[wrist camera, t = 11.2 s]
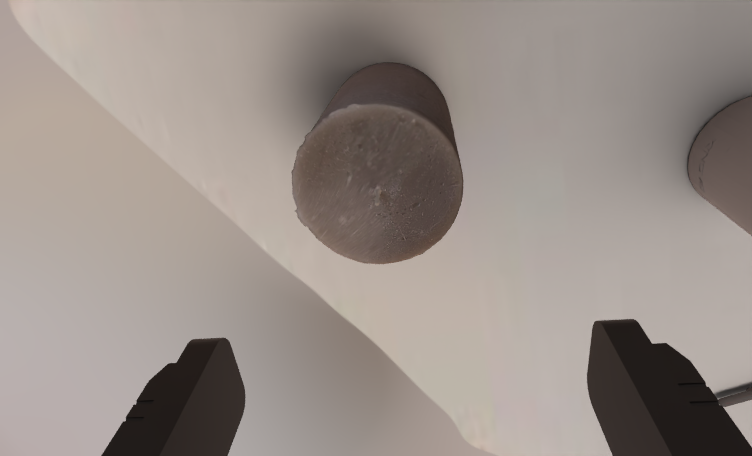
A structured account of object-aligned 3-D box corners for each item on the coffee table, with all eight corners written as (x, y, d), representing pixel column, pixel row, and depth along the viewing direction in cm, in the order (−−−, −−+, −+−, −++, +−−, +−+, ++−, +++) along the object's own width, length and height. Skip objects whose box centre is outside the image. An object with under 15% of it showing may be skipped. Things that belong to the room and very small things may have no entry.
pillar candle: (469, 147, 40) (498, 233, 26) (366, 200, 42) (345, 302, 29) (412, 35, 36) (413, 69, 23) (304, 100, 39) (247, 165, 25)
